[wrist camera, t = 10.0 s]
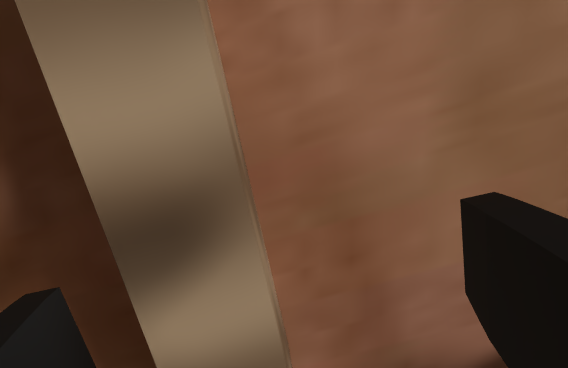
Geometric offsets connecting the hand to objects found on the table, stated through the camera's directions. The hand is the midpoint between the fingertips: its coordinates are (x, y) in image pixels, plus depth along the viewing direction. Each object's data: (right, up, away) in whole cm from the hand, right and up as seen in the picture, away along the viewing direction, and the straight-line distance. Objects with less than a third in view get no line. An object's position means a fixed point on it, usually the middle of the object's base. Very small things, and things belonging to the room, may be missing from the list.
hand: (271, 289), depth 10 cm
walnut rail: (-4, +5, +8) cm, 10 cm away
